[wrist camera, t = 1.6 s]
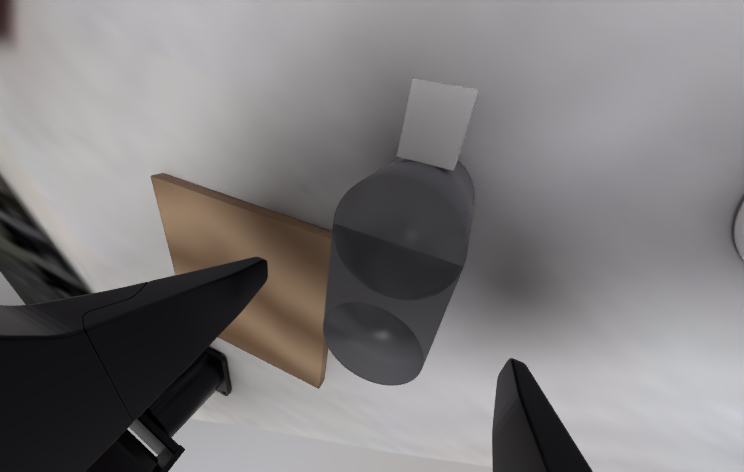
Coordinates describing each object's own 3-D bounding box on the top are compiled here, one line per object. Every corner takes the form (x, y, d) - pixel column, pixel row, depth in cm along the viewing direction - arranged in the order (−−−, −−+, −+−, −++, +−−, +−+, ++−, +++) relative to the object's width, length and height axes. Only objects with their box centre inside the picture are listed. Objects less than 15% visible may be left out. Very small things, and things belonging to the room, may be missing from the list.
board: (324, 380, 22) (318, 388, 22) (195, 315, 26) (187, 321, 25) (341, 235, 15) (334, 241, 15) (162, 173, 19) (150, 175, 18)
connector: (429, 321, 16) (409, 400, 12) (361, 294, 17) (319, 357, 13) (513, 98, 10) (532, 95, 6) (401, 78, 11) (348, 64, 7)
